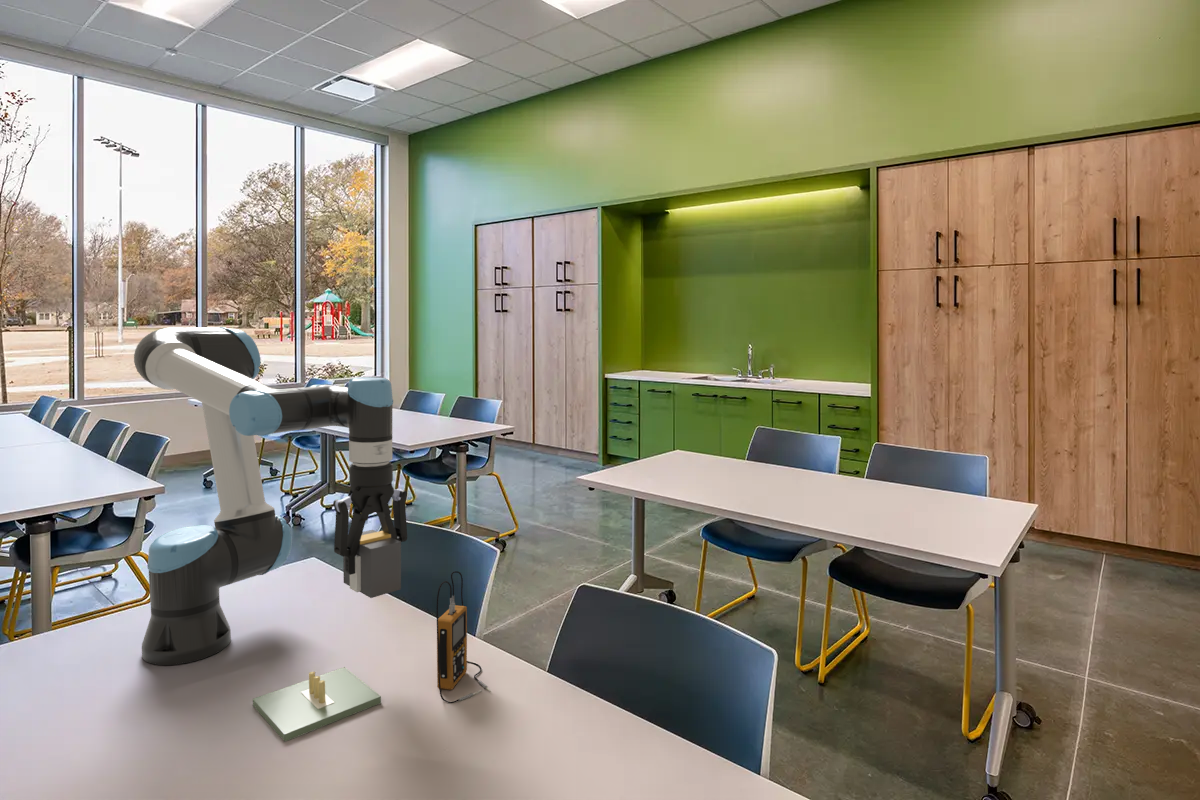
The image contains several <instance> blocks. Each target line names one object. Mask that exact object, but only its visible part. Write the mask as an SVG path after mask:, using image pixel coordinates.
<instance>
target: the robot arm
mask: <svg viewBox="0 0 1200 800" xmlns="http://www.w3.org/2000/svg"><path fill="white" fill-rule="evenodd" d="M133 362H134V363H133V364H134V367H135V368H136V371H137V373H138V374H139V375H140V377H142V379H144V380H145V381H146V382H148V383H149V384H151V385H153V386H155V387H158V388H160V389H163V390H167V391H168V390H170V391H171V390H176V391H178V392H180V393H182V394H185V396H188V397H190V398H193V399H194V400H197V401H199V402H201V406H202V411H203V416H204V422H205V430H206V435H207V440H208V446H209V452H210V455H211V456H210V457H211V463H212V468H213V474H214V480H215V481H214V482H215V486H216V491H217V492H216V493H217V497H218V502H219V503H218V504H219V509H220V511H219V513H218V515H216V517H215V519H214V520H213V522H214V526H213V525H209V524H196V525H193V526H185V527H180V528H176V529H174V530H171V531H168V532H166V533H164V534H161V535H159V536H158V537H157V538H155V540H153V541H152V543H151V544H150V545H149V549H148V558H147V559H148V560H147V566H146V567H147V570H148V582H149V583H148V584H149V599H150V600H149V602H150V619H149V621H148V625H147V627H146V631H145V634H144V637H143V640H142V643H141V658H142V659H143V661H144V662H146V663H148V664H151V665H158V666H173V665H182V664H186V663H187V664H188V663H192V662H195V661H199V660H200V661H201V660H203V659H206V658H208V657H212V656H213V655H216V654H217V653H219V652H221V651H222V650H224V649H226V648H227V646H228V645H230V643H231V641H232V637H231V636H232V632H231V626H230V625H229V622H228V620H227V618H226V615H225V613H224V610H223V608H222V606H221V603H220V602H221V601H220V588H222V587H225V586H229V585H231V584H235V583H238V582H241V581H244V580H248V579H250V578H254V577H256V576H263V575H266V574H268V573H269V572H272V571H274V570H276V569H279V568H280V567H282V566H283V565H284V564H285V563H286V561H287V559H288V558H289V556H290V554H291V551H292V544H293V542H292V541H293V538H292V536H293V535H292V531H291V527H290V525H289V524H288V523H287V520H286V519H285V518H284V517H283V516H281V515H277V514H276V511H275V507H274V506H272V505H271V504H268V503H267V502H266V499H265V493H264V486H263V481H262V476H261V470H260V464H259V458H258V453H257V447H256V440H255V437H254V436H260V437H262V436H263V437H265V436H268V435H271V434H272V435H273V434H280V433H286V432H294V431H301V430H302V431H303V430H310V429H318V428H324V427H325V428H327V427H342V428H348V460H349V462H351V463H350V465H349V467H348V468H349V469H348V470H349V471H348V472H349V475H348V476H349V486H350V490H349V492H348V493H347V496H345V497H344V498H342V499H337V498H336V499H334V501H333V502H332V503H333V504H332V505H333V508H334V511H335V527H334V541H333V542H334V544H333V545H334V546H333V552H334V554H337V555H338V556H341V557H343V556H345V571H346V573H348V574H350V586H349V589H350V590H351V591H354V592H355V593H361V592H360V591H361V556H359V555H356V554H357V551H358V547H359V543H360V540H361V536H362V532H364V528H365V525H366V521H367V520H368V519H369V516H370V515H372V514H374V513H375V514H377V517H378V519H379V523H380V526H381V531H384V532H386V533H388V534H391V538H393V539H395V540H398V541H400V542H401V543H403V542H404V543H405V542H406V541H407V540H408V529H407V527H408V526H407V513H406V512H407V511H406V502H407V501H406V500H407V497H408V492H407V490H403V489H401V488H396V489H395V488H394V485H393V484H392V483H393V482H394V481H393V480H394V479H393V478H394V476H393V475H394V470H393V469H394V464H393V463H392V462H391V461H392V460H393V404H394V399H393V389H392V383H391V381H390V380H389V379H387V378H384V377H373V376H371V377H370V376H369V377H368V376H367V377H363V376H362V377H353V378H350V379H349V381H348V383H347V384H348V386H341V385H333V384H330V383H325V384H313V385H310V386H307V387H296V388H295V387H293V388H274V387H271V386H269V385H267V384H265V383H262V382H260V381H257V380H255V379H256V377H257V376H258V375H259V372H260V367H261V365H262V363H261V355H260V350H259V348H258V346H257V344H256V342H255V340H254V339H253V338H252V337H251V335H249V334H247V332H246V331H243V330H241V329H238V328H227V327H224V326H223V327H222V326H220V327H180V326H177V327H176V326H169V327H163V328H159V329H157V330H154V331H152V332H150V333H148V334H147V335H145V336H144V337H143V338H142V339H141V340H140V341H139V342H138V344H137V346H136V347H135V350H134V354H133ZM391 500H392V511H393V512H391V508H390V506H389V502H390V501H391ZM351 505H353V507H354V508H353V511H352V520H351V523H350V526H349V522H350V521H349V519H350V513H349V510H350V509H351ZM391 513H393V520H392V516H391ZM349 527H350V528H349Z"/></svg>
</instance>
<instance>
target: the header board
mask: <svg viewBox="0 0 1200 800" xmlns="http://www.w3.org/2000/svg"><path fill="white" fill-rule="evenodd" d="M379 704H382V695H380V694H379V693H377V692H376V691H375V690H374V689H373V688H371V687H370V686H369V685H368V684H366V683H365V682H364V681H362V679H360V678H359V677H358V676H357V675H356V674H354V673H352V672H351V671H350V670H349V669H348V668H347V667H345V666H344V667H341V668H337V669H336V670H332V671H329V672H326V673H323V674H321V675H316V672H315V671H310V672H308V679H306V680H303V681H300V682H297V683H295V684H292V685H289V686H286V687H283V688H280V689H278V690H275V691H271V692H269V693H266V694H263V695H261V696H258V697H255V698H252V706H253V708H255V710H256V711H257V712H258V713H259V715H261V717H262V718H263V719H264V721H266V723H268V724H269V726H270V727H271V728H272V730H273V731H275V732H276V734H277V735H278V736H279V737H280V738H281V739H282V740H283V742H287V741H290V740H293V739H295V738H297V737H300V736H302V735H305V734H307V733H310V732H313V731H314V730H318V729H320V728H322V727H325V726H328V725H330V724H332V723H335V722H337V721H340V720H342V719H345V718H347V717H350V716H352V715H354V714H357V713H359V712H362V711H364V710H367V709H370V708H372V707H374V706H377V705H379Z"/></svg>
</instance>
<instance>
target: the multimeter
mask: <svg viewBox="0 0 1200 800" xmlns="http://www.w3.org/2000/svg"><path fill="white" fill-rule="evenodd" d="M455 573H456V574H458V575H460V578H461V579H460V581H461V582H460V583H461V585H460V598H461V599H460V601H461V605H456V602H455V593H454V592H455V585H454V584H455V583H454V579H453V574H455ZM450 580H451V583H450V582H449V581H447V580H444V581H442V582H441V583H440V585H439V587H438V590H437V595H436V596H437V597H436V666H437V667H436V672H437V673H436V675H437V676H436V677H437V682H436V683H437V689H439V695H440V698H441V700H442V701H443V702H445V703H446V704H447V703H448V704H454V703H457V702H459V701H460V702H461V701H463V700H467V699H468V698H471V697H474V695H476V694H478V693H481V692H482V689H481V690H478V691H475V692H470V693H469V694H466V695H464V696H462V697H460V698H458V699H456V700H453V701H448V700H446V699H444V697H443V693H442V690H449V691H452V690H453V689H454V688H455V686H456V685H457V684H458V683H459V682H460V680H461V679H462V678H463V676H465V675H466V673H467V671H468V669H467V668H468V667H467V666H468V665H467V663H468V664H472V665H474V666H477V667H478V668H479V671H478V672H477V673H475V674H474V676H473V679H474V680H475V681H477V682H478V684H480V686H482V687H483V688H484V690H488V691H489V692H490V693H492V690H490V689H489V688H488V686H487V685H486V684H485V683H484V682H482V681H481V680H479V679H478V678H477V677H476V676H478V675H479V674H481V672H482V666H481V665H480V664H478V663H475V662H473V661H469V660H468V657H467V655H468V650H467V649H468V627H467V626H468V625H467V624H468V617H467V612H468V611H467V610H468V609H467V608H468V607H467V606H464V600H463V599H464V598H463V587H464V586H463V585H464V584H463V581H464V580H463V574H462V572H460V571H452V572H451V574H450ZM444 584H448V586H449V591H450V593H449V605H448V609H447V610H446V611H445V612H444V613H443V614H442V615H441V616H439V596H440V591H441V587H442V586H443V585H444ZM451 584H452V585H451Z"/></svg>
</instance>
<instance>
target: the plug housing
mask: <svg viewBox="0 0 1200 800" xmlns="http://www.w3.org/2000/svg"><path fill="white" fill-rule="evenodd" d="M356 555H359V556H361V591H360V592H359V593H361V594H363V595H364V596H367V597H368V598H370V599H372V598H376V597H377V598H378V597H380V596H383V595H386V594H390V593H392V592H396V591H399V590H402V542H400V541H398V540H395V539H393V538H391V534H388V533H386V532H384V531H383V530H379V531H377V530H375V529H369V530H366V531H364V530H363V532H362V536H361V540H360V543H359V547H358V551H357V554H356ZM342 557H343V558H342V559H343V563H342V565H343V583H344V584H345V585H347V586H349V587H350V574H348V573H346V571H345V556H342Z"/></svg>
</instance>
